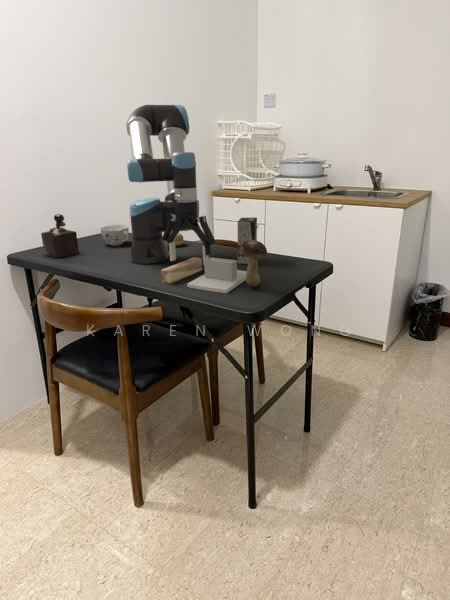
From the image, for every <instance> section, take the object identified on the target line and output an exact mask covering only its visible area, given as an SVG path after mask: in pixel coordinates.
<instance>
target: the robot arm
mask: <svg viewBox="0 0 450 600" xmlns="http://www.w3.org/2000/svg"><path fill="white" fill-rule="evenodd" d="M126 132H127V134H128V136H129V140H130V141H129V142H130V149H131V159H128V160H127V161H126V164H127V165H126V167H127V178H128V181H129V182H131V183H151V182H152V183H153V182H154V183H155V182H166V186H167V194H166V195H165V197H164V201H161V199H160V198H159V197H149V198H143V199H138V200H136V201H133V202H132V203H130V205H129V217H130V225H131V235H132V236H131V237H132V242H131V248H130V251H129V260H130V262H132V263H134V264H143V265H145V264H146V265H148V264H149V265H150V264H157V263H163V262H164V261H167V260H168V259H169V261H170V262H174V261H176V260H177V253H176V251H177V250H176V246H175V242H172V241H174V238H175V237H176V236H177V234H178V233H180V232H188V231H193V232H194V233H195V234H196V236H197V237H198V238H199V240H200V241H201V243H202V244H203V245H202V247H201V248H202V266H204V260H206V259H208V258H210V256H209V255H211V251H212V250H211V245H214V244H215V243H216V239H215V237H214V235H213V233H212V230H211V228H210V226H209V224H208V222H207V216H206V215H202V216H200V201H199V200H198V191H197V190H198V189H197V171H196V170H197V168H196V167H197V166H196V165H197V162H196V155H195V153H194V152H192V151H191V152H190V151H185V143H184V142H185V141H186V139H187V136H188V135H189V133H190V123H189V115H188V112H187V109H186V107H185V106H184V105H181V104H173V103H172V104H144V105H141V106H139V107H137V108H135V110H133V111H132V113H130V114H129V116H128V118H127V121H126ZM151 136H152V137H154V136H155V137H156V136H157V139H158V141H159V142H160V143H161V144H162V151H163V158H154V153H153V148H152V147H153V146H152V140H151ZM171 232H172V233H171ZM170 233H171V234H170ZM166 242H167V243H166ZM166 244H167V246H166Z"/></svg>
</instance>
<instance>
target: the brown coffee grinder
mask: <svg viewBox="0 0 450 600" xmlns="http://www.w3.org/2000/svg"><path fill="white" fill-rule="evenodd" d="M53 219H54V221H55V227H52V228H49V231H45V232H41V233H40V234H41V235H40V236H41V240H42V247H43V253H44V254H43V255H45V256H48V257H51V258H57V259H58V258H59V259H60V258H64V257H69V256H73V255H78V254H79V253H80V251H79V243H78V236H77V235H78V234H77V231H73V230H69V229H66V228H64V227H65V226H66V225H67V224H66V222H64V220H65V217H64V215H63V214H60V213H57V214H54V215H53Z"/></svg>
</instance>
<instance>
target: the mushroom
mask: <svg viewBox="0 0 450 600" xmlns="http://www.w3.org/2000/svg"><path fill="white" fill-rule="evenodd" d="M240 251H241V253H242V254H243V255H245V256H247V257H248V264H247V267H246V271H247V272H246V280H245V281H246V285H248V286H249V287H250V288H251V289H252V290H257V289H259V287H261V278H260V275H259V272H258V265H259V261H261V260H264V259H265V258H266V257H267V255H268V250H267V247H266V245H264V243H262V242H261V241H259V240H257V241H256V240H249V241H246V242H244V243H243V244H241V246H240Z"/></svg>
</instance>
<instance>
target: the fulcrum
mask: <svg viewBox="0 0 450 600" xmlns="http://www.w3.org/2000/svg"><path fill="white" fill-rule="evenodd" d="M203 267H204V274H203V275H200V276H199V277H197V278H195V279H193V280H191V281H190V282H188V283H187V284H186V285H187V286H186V287H187V288H188V287H189V289H194V288H195V290H200V291H201V290H202V291H207V292H213V293H219V292H220V293H221V294H225V293H226V294H229V292H231V291H232V290H233V289H235V288H236V287H238V286H240V284H242V283H243V282H245V281H246V272H247V270H240V269H238V259H237V260H235V259H229V258H221V257H220V258H219V257H211V256H209V258H208V259H206V260H204V265H203Z"/></svg>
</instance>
